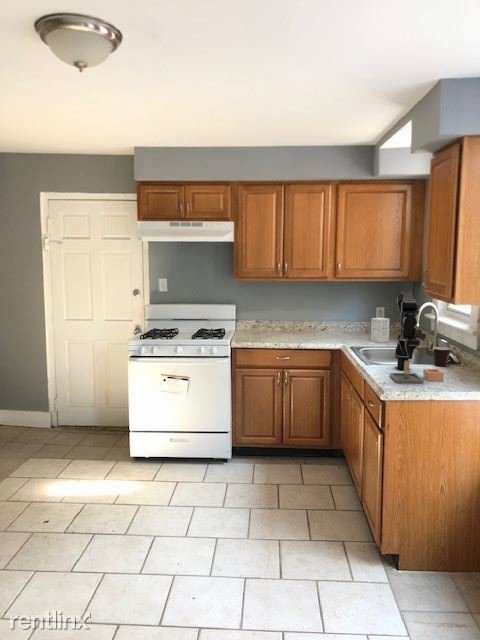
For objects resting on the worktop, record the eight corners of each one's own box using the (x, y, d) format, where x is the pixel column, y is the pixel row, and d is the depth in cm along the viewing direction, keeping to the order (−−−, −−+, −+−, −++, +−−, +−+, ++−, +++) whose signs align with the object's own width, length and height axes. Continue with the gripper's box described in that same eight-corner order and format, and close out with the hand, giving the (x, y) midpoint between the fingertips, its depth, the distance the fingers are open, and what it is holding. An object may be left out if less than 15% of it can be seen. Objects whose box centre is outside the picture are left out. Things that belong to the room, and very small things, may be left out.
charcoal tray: (389, 376, 253) (389, 372, 253) (415, 377, 253) (415, 373, 252) (396, 383, 240) (396, 379, 240) (423, 383, 240) (423, 379, 240)
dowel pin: (403, 377, 248) (403, 360, 247) (407, 378, 248) (408, 360, 246) (404, 379, 245) (405, 361, 244) (409, 379, 245) (410, 361, 244)
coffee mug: (443, 368, 272) (444, 350, 271) (429, 365, 279) (430, 348, 278) (454, 365, 279) (455, 348, 278) (441, 362, 286) (441, 345, 284)
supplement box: (389, 341, 354) (390, 318, 352) (381, 343, 348) (382, 319, 346) (378, 339, 362) (378, 317, 359) (370, 341, 356) (371, 318, 354)
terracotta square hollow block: (423, 377, 252) (423, 368, 251) (437, 377, 251) (438, 369, 251) (427, 381, 244) (428, 372, 244) (443, 381, 244) (443, 372, 244)
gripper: (431, 328, 233) (429, 360, 235) (419, 322, 252) (417, 352, 254) (407, 328, 234) (406, 360, 236) (397, 322, 252) (395, 352, 254)
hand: (407, 356), depth 245 cm, fingers open, 9 cm apart
